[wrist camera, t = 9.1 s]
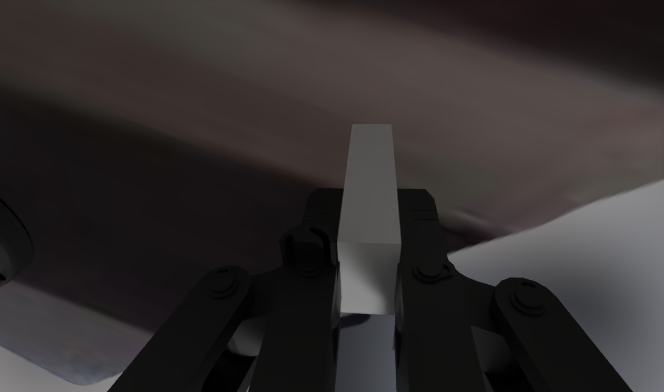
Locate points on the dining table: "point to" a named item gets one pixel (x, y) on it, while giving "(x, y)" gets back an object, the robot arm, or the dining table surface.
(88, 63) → the dining table surface
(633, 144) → the dining table surface
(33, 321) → the dining table surface
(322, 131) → the dining table surface
